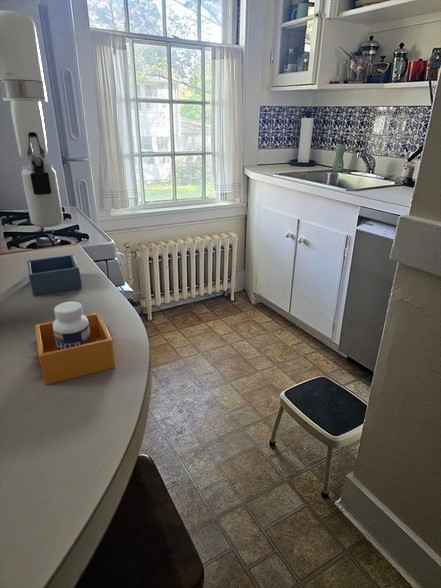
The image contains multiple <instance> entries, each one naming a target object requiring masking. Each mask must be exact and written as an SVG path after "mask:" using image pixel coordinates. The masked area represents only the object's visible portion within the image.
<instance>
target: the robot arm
mask: <svg viewBox="0 0 441 588" xmlns="http://www.w3.org/2000/svg"><path fill="white" fill-rule="evenodd" d="M36 28H37V27H36V24H35V21H34V20H33V18H32V17H31V16H30V15H28V14H26V13H24V12H20V11H17V10H16V11H15V10H5V9H0V91H1V96H2V101H3V102H7V103H9V104H10V113H11V118H12V119H11V121H12V124H13V130H14V136H15V139H16V145H17V149H18V154H19V157H20V158H21V159H25V156H27V160H28V165H30V168H31V173H30V176H31V181H32V186H33V191H34V194H35V195H43V194H51V186H50V180H49V174H48V173H47V169H46V159H45V158H47V157H48V143H47V135H46V134H47V133H46V127H45V121H44V114H43V108H42V103H48V96H47V91H46V90H47V89H46V85H45V78H44V72H43V65H42V60H41V53H40V47H39V41H38V34H37V29H36ZM33 166H34V168H33ZM34 172H35V173H34Z"/></svg>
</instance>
